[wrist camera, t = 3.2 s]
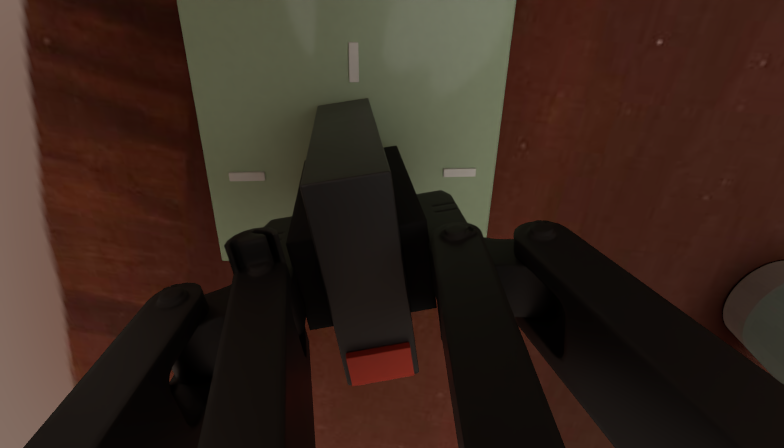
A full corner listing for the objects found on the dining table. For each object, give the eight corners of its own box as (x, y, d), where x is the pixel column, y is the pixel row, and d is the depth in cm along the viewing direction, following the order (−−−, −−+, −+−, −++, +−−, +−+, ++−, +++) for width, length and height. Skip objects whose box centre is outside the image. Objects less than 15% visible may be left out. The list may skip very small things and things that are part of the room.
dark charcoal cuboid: (317, 105, 17) (298, 190, 9) (368, 97, 17) (392, 174, 9) (344, 240, 20) (348, 393, 12) (389, 233, 20) (420, 380, 12)
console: (193, -47, 17) (164, -57, 14) (495, -38, 18) (524, -46, 15) (238, 250, 23) (224, 284, 20) (466, 241, 24) (483, 273, 21)
